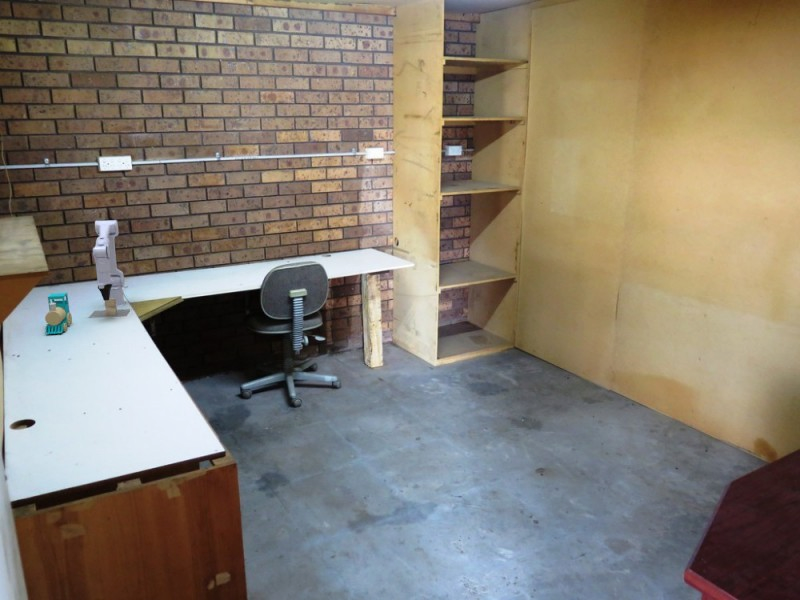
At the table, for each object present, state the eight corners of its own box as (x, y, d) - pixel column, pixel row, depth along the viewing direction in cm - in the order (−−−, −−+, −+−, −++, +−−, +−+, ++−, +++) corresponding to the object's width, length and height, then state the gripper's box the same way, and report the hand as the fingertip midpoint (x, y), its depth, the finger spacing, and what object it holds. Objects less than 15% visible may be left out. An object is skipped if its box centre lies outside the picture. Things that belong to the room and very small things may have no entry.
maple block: (108, 313, 300) (106, 298, 298) (117, 313, 300) (115, 298, 299) (106, 315, 296) (104, 300, 294) (115, 315, 297) (113, 300, 295)
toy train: (43, 336, 266) (39, 302, 263) (53, 325, 282) (49, 293, 278) (63, 335, 268) (59, 301, 265) (72, 324, 284) (69, 292, 280)
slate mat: (94, 311, 304) (94, 310, 304) (131, 310, 308) (131, 309, 308) (88, 318, 292) (88, 317, 292) (126, 317, 296) (126, 316, 296)
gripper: (109, 274, 280) (112, 303, 283) (116, 268, 294) (118, 296, 297) (92, 275, 278) (95, 304, 282) (99, 268, 292) (103, 296, 296)
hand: (106, 300), depth 289 cm, fingers closed
